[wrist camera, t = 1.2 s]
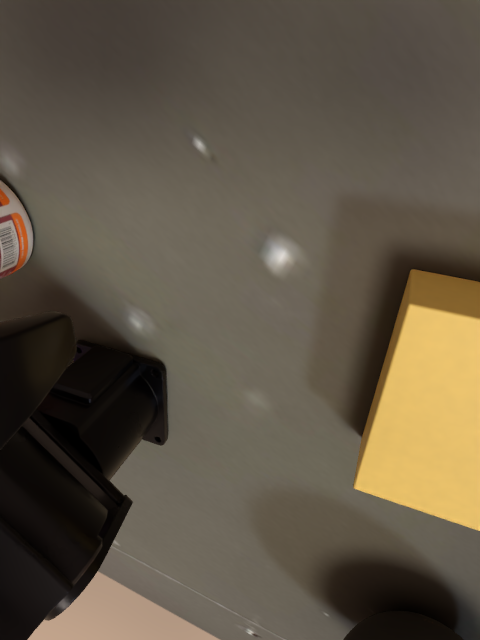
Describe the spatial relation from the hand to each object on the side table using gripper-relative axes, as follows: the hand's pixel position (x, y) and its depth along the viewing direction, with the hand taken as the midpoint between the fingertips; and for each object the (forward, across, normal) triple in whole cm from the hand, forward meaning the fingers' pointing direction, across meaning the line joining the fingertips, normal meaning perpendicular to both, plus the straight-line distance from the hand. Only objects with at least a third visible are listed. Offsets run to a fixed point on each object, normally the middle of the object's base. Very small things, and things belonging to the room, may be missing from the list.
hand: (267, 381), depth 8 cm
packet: (+12, -6, +7) cm, 15 cm away
